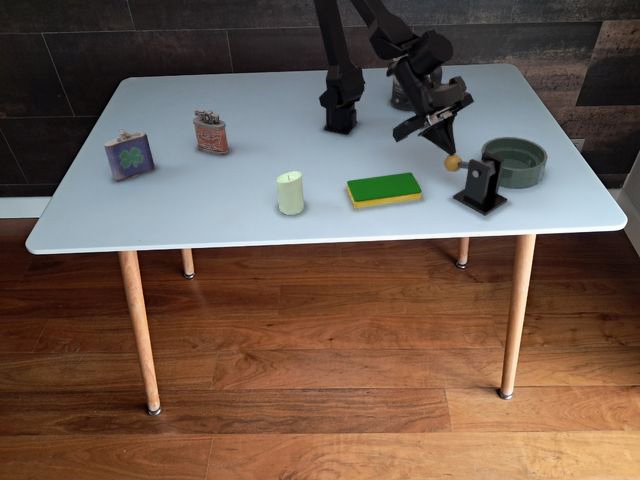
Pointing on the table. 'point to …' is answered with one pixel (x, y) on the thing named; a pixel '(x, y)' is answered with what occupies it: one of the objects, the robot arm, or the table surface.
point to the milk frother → (399, 94)
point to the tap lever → (464, 164)
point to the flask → (129, 155)
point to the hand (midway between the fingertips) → (453, 154)
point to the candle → (290, 193)
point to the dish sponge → (383, 189)
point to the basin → (518, 161)
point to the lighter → (210, 133)
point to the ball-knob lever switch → (482, 186)
